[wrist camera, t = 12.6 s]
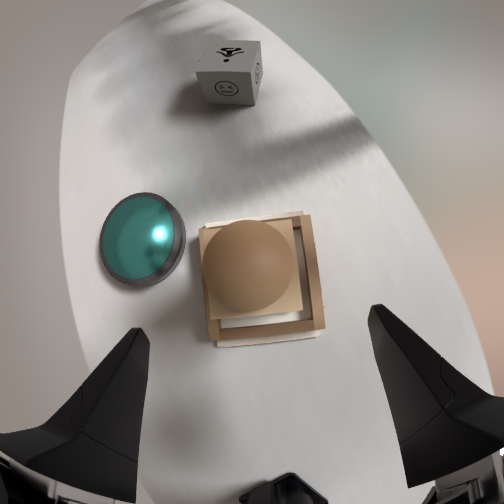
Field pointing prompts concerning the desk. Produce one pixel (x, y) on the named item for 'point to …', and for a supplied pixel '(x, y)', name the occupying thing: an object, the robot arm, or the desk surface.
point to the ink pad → (142, 239)
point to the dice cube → (231, 72)
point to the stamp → (251, 269)
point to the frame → (279, 323)
